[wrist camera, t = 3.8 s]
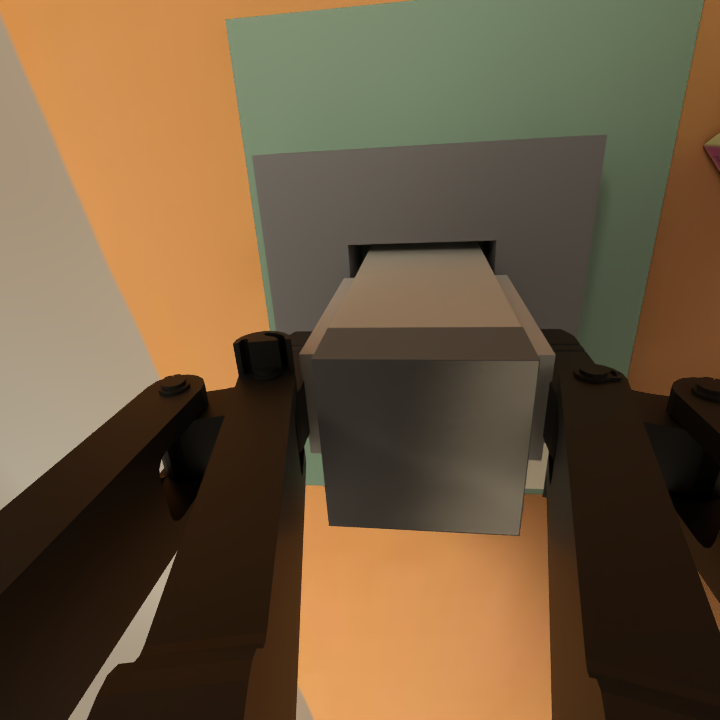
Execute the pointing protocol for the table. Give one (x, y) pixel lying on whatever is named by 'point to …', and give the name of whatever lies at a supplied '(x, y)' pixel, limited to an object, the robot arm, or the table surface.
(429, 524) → the plug
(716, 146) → the box
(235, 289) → the table surface
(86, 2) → the table surface
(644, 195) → the board
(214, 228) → the table surface
